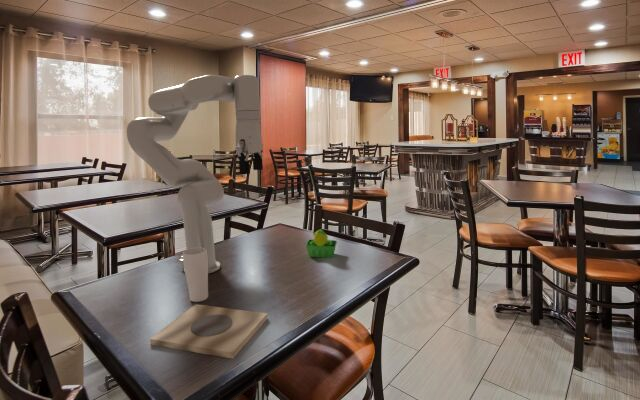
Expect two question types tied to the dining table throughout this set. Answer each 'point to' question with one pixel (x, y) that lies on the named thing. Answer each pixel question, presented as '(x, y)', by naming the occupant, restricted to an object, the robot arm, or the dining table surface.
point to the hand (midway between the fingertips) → (251, 171)
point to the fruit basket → (321, 245)
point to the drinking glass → (196, 273)
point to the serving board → (210, 330)
